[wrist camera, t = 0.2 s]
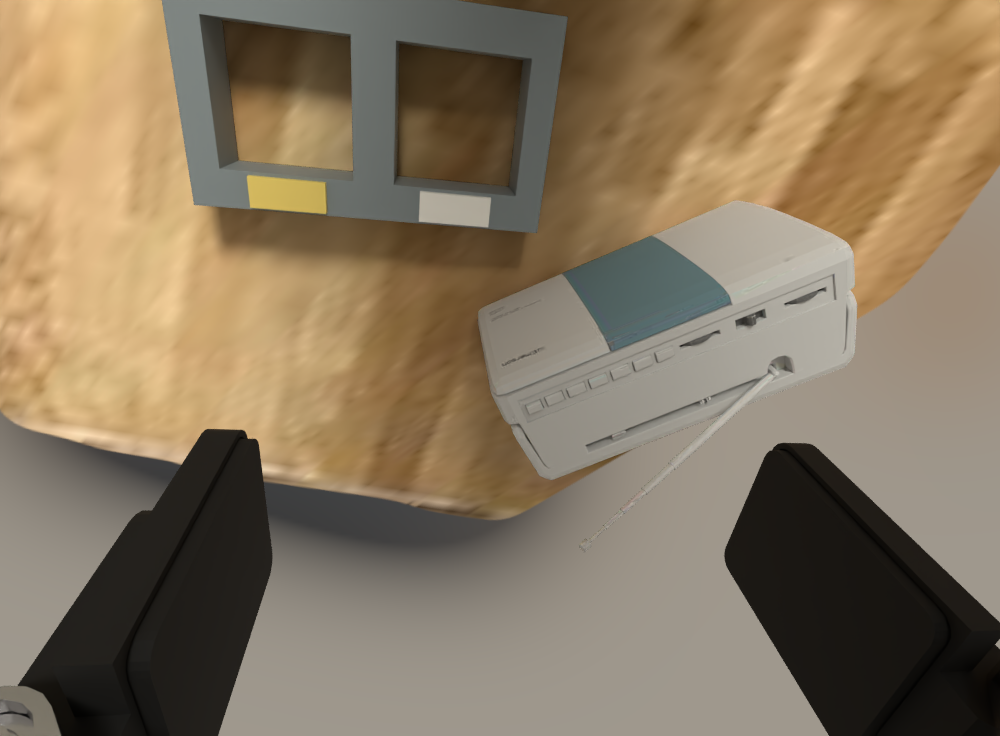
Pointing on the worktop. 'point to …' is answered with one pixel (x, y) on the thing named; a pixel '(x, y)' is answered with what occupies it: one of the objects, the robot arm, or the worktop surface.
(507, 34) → the socket board
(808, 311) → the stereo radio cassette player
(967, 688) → the robot arm
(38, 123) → the worktop surface
